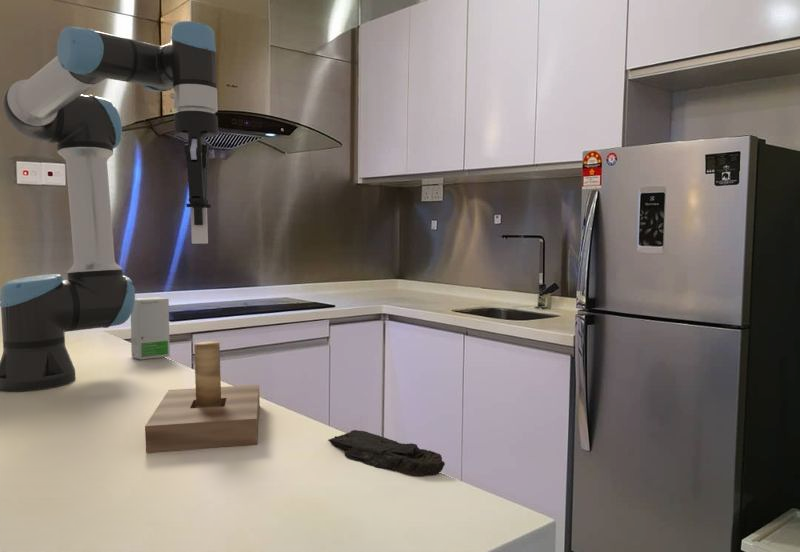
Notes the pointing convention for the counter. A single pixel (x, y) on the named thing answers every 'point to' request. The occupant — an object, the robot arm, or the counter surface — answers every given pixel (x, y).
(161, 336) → the skincare box
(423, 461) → the black flat rough slab
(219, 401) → the oak dowel
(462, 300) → the counter surface
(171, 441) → the seat board
